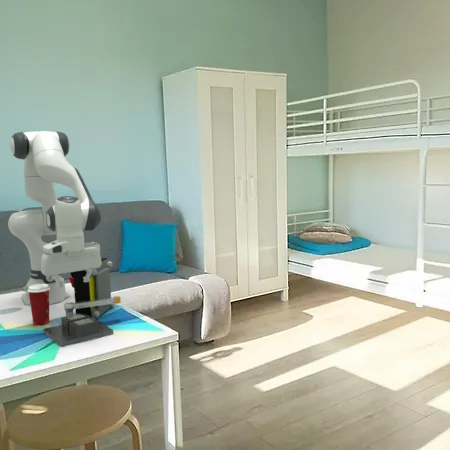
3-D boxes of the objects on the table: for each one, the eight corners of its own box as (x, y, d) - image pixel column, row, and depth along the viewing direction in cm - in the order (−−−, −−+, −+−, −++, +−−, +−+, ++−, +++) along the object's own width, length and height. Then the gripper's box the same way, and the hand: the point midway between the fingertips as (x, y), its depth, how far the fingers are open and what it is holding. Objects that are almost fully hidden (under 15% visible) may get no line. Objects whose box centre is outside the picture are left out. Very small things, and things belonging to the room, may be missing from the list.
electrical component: (96, 320, 188) (93, 268, 185) (71, 319, 190) (68, 267, 187) (116, 306, 205) (113, 258, 202) (92, 305, 207) (89, 257, 204)
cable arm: (65, 311, 177) (64, 305, 177) (64, 308, 180) (63, 302, 180) (120, 303, 185) (120, 297, 185) (119, 301, 188) (118, 295, 188)
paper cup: (56, 322, 187) (53, 285, 185) (36, 328, 181) (33, 290, 179) (45, 318, 192) (43, 282, 190) (26, 323, 187) (23, 286, 185)
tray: (43, 333, 176) (42, 315, 175) (92, 321, 187) (91, 304, 186) (61, 346, 163) (60, 327, 162) (113, 333, 174) (112, 315, 173)
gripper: (95, 239, 180) (97, 277, 182) (37, 247, 168) (40, 287, 170) (103, 241, 175) (105, 280, 177) (44, 249, 163) (47, 291, 165)
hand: (73, 284), depth 174 cm, fingers open, 8 cm apart
